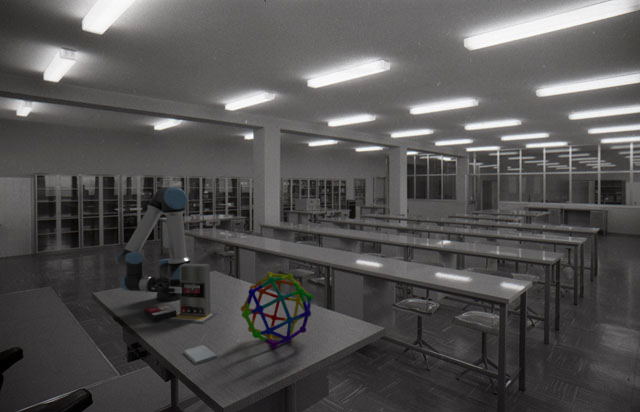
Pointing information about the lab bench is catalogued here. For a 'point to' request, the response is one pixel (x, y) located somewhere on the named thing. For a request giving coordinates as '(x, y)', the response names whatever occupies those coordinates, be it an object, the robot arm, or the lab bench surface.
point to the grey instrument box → (195, 289)
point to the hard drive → (200, 354)
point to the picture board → (191, 318)
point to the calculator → (159, 313)
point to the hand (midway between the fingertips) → (189, 286)
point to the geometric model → (276, 308)
